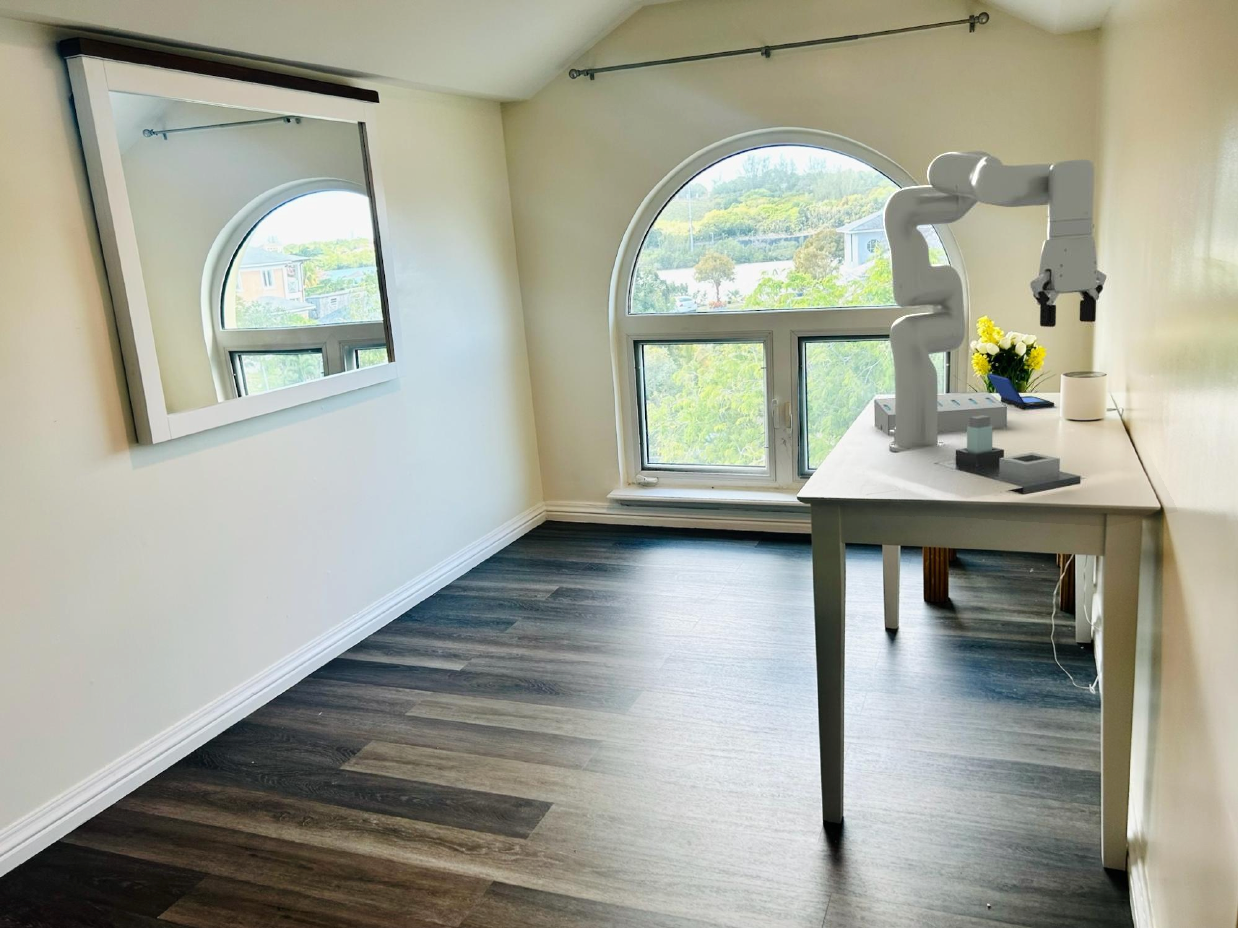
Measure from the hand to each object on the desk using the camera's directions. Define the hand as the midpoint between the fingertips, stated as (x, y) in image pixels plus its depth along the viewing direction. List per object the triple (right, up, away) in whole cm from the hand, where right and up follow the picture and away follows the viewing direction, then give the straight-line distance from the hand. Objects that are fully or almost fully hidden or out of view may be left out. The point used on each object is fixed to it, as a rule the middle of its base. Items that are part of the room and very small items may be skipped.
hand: (1067, 324), depth 180 cm
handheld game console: (+30, -10, +94) cm, 99 cm away
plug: (-8, -26, +22) cm, 35 cm away
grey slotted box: (0, -17, +72) cm, 74 cm away
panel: (-6, -29, +16) cm, 34 cm away
